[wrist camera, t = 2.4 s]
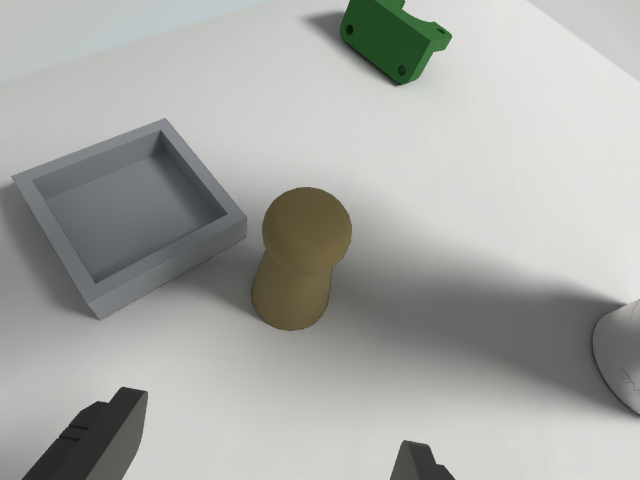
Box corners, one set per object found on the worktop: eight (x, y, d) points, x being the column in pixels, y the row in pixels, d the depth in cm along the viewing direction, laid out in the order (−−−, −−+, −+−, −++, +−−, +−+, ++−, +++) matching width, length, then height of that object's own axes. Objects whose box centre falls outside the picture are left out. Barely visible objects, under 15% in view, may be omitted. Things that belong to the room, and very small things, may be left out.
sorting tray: (170, 142, 37) (165, 117, 34) (246, 237, 33) (246, 217, 31) (29, 200, 32) (11, 176, 29) (100, 320, 28) (86, 304, 26)
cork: (252, 256, 33) (258, 166, 23) (327, 260, 34) (360, 175, 24) (248, 330, 30) (253, 260, 20) (330, 331, 31) (370, 265, 21)
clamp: (404, 96, 53) (463, 50, 46) (379, 104, 49) (439, 56, 42) (359, 14, 53) (412, -44, 46) (330, 16, 49) (382, -48, 42)
